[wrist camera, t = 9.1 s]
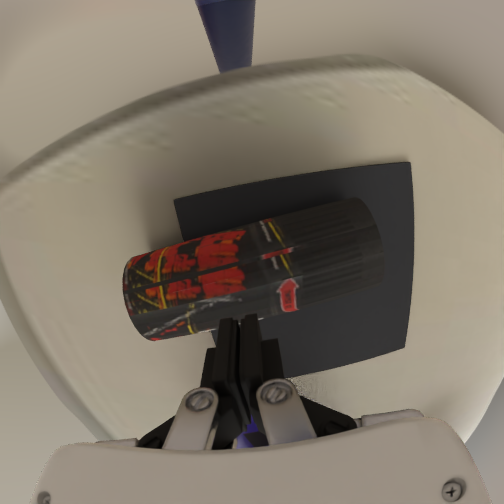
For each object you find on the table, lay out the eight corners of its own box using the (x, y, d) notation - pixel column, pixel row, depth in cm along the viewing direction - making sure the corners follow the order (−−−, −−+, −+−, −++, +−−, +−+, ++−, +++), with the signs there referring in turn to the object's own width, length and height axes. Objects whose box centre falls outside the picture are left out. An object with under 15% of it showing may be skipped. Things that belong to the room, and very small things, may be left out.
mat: (174, 199, 19) (173, 200, 19) (408, 161, 18) (410, 162, 18) (230, 383, 25) (230, 386, 25) (403, 345, 24) (404, 347, 24)
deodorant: (147, 248, 20) (341, 196, 19) (172, 318, 21) (356, 272, 20) (111, 269, 14) (374, 198, 13) (148, 357, 16) (389, 300, 14)
